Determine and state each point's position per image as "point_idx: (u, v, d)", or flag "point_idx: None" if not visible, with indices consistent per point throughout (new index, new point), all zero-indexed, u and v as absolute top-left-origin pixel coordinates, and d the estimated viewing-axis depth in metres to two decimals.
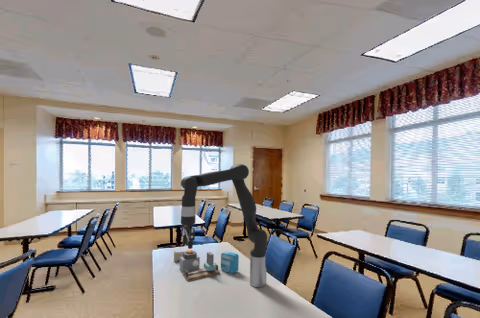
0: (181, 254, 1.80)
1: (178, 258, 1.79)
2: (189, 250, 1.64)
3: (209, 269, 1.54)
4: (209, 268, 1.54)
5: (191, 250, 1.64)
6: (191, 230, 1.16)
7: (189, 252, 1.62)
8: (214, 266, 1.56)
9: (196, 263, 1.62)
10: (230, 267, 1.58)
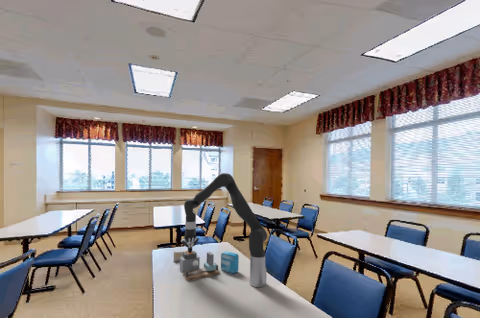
0: (181, 254, 1.80)
1: (178, 258, 1.79)
2: None
3: (209, 269, 1.54)
4: (209, 268, 1.54)
5: (191, 252, 1.64)
6: None
7: None
8: (214, 266, 1.56)
9: (196, 263, 1.62)
10: (230, 267, 1.58)
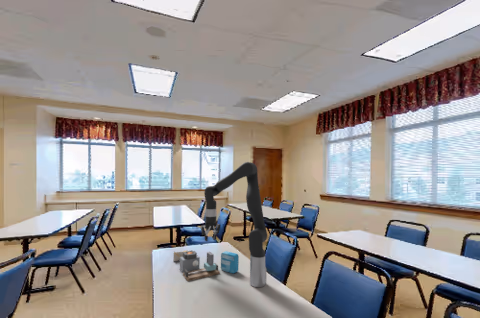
0: (181, 254, 1.80)
1: (178, 258, 1.79)
2: (189, 252, 1.64)
3: (209, 269, 1.54)
4: (209, 268, 1.54)
5: (191, 252, 1.64)
6: None
7: None
8: (214, 266, 1.56)
9: (196, 263, 1.62)
10: (230, 267, 1.58)
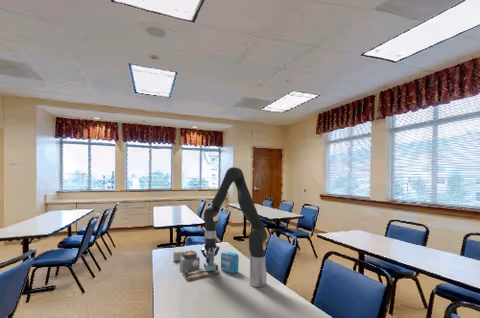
0: (180, 254, 1.79)
1: (177, 258, 1.78)
2: (189, 252, 1.64)
3: (209, 269, 1.54)
4: (209, 268, 1.54)
5: (191, 252, 1.64)
6: None
7: None
8: (214, 266, 1.56)
9: (196, 263, 1.62)
10: (230, 267, 1.58)
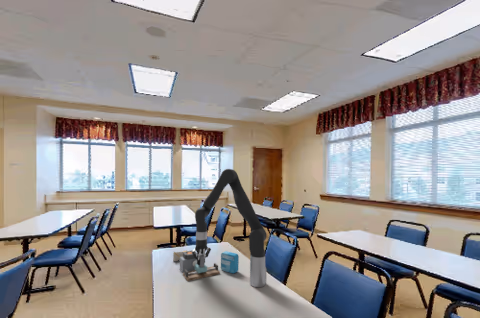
0: (180, 254, 1.79)
1: (177, 258, 1.78)
2: (189, 252, 1.64)
3: (200, 271, 1.51)
4: (200, 270, 1.51)
5: (191, 252, 1.64)
6: None
7: None
8: (205, 268, 1.53)
9: (196, 263, 1.62)
10: (230, 267, 1.58)
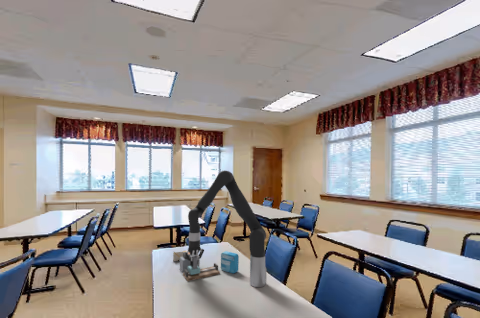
0: (180, 254, 1.79)
1: (177, 258, 1.78)
2: None
3: (193, 273, 1.48)
4: (193, 272, 1.48)
5: None
6: None
7: None
8: (198, 269, 1.50)
9: None
10: (230, 267, 1.58)
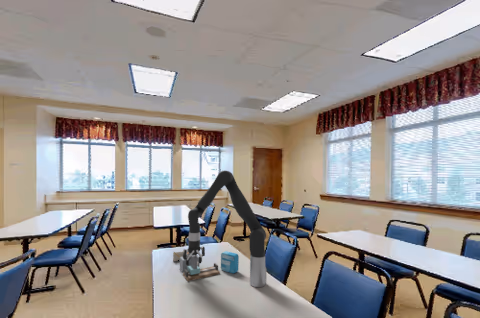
0: (180, 254, 1.79)
1: (177, 258, 1.78)
2: None
3: (192, 273, 1.48)
4: (193, 272, 1.48)
5: None
6: None
7: None
8: (198, 269, 1.50)
9: None
10: (230, 267, 1.58)
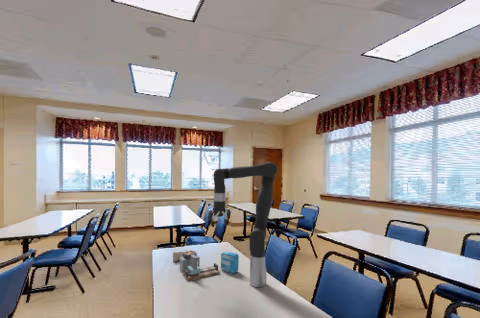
0: (180, 254, 1.79)
1: (177, 258, 1.78)
2: (189, 252, 1.64)
3: (192, 273, 1.48)
4: (193, 272, 1.48)
5: (191, 252, 1.64)
6: None
7: None
8: (198, 269, 1.50)
9: None
10: (230, 267, 1.58)
